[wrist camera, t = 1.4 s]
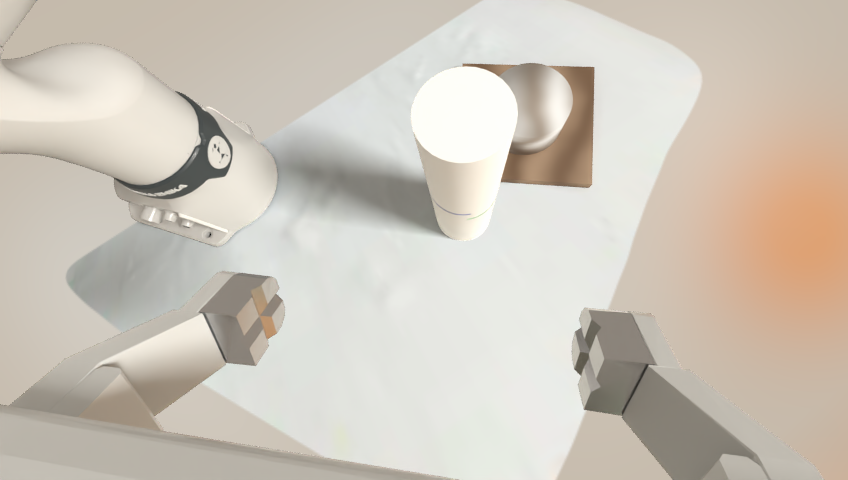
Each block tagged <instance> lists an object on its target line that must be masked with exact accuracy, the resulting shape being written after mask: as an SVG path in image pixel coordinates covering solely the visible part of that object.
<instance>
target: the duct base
mask: <svg viewBox="0 0 848 480" xmlns="http://www.w3.org/2000/svg"><path fill="white" fill-rule="evenodd" d="M465 66H467V67H477V68H481V69H485V70H487V71H490V72H492V73H494V74H496V75H497V76H498V77H500V78H501V79H502V80H504V82H505V83H506V84H507V85H508V86H509V87H510V89H511V91H512V92H513V94H514V96H515V99H516V103H517V109H518V117H517V124H516V128H515V131H514V135H513V138H512V142H511V145H510V149H509V153H508V156H507V160H506V163H505V167H504V171H503V174H502V178H501V181H500V182H509V183H525V184H540V185H555V186H570V187H586V188H589V187H590V186H591V185H592V156H593V108H594V67H569V66H546V65H542V64H536V63H526V64H520V65H493V64H463V66H462V67H465Z"/></svg>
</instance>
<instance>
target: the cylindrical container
mask: <svg viewBox="0 0 848 480" xmlns="http://www.w3.org/2000/svg"><path fill="white" fill-rule="evenodd" d="M517 117H518V109H517V103H516V99H515V96H514V94H513V92H512V91H511V89H510V87H509V86H508V85H507V84H506V83H505V82H504V80H502V79H501V78H500V77H498V76H497V75H496V74H494V73H492V72H490V71H487V70H485V69H481V68H477V67H467V66H465V67H456V68H452V69H448V70H445V71H443V72H441V73H438V74H437V75H435V76H434V77H432V78H431V79H429V80H428V81H427V82H426V83H425V84H424V85H423V86H422V87H421V89H420V90H419V92H418V93H417V95H416V97H415V99H414V102H413V105H412V110H411V124H412V128H413V132H414V136H415V140H416V143H417V147H418V151H419V154H420V158H421V162H422V165H423V169H424V173H425V177H426V181H427V185H428V188H429V192H430V196H431V199H432V203H433V207H434V211H435V214H436V218H437V222H438V225H439V227H440V229H441V230H442V231H443V233H444V234H446V235H447V236H448V237H450V238H452V239H455V240H458V241H468V240H472V239H474V238H477V237H478V236H480V235H481V234H482V233H483V232H484V231H485V230H486V228H487V226H488V224H489V221H490V217H491V214H492V210H493V206H494V203H495V199H496V196H497V192H498V189H499V185H500V181H501V178H502V174H503V171H504V167H505V163H506V160H507V156H508V153H509V149H510V145H511V142H512V138H513V135H514V131H515V128H516V124H517Z"/></svg>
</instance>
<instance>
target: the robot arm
mask: <svg viewBox="0 0 848 480" xmlns="http://www.w3.org/2000/svg"><path fill="white" fill-rule="evenodd" d="M36 1H37V0H0V153H1V154H3V153H4V154H5V153H6V154H7V153H9V154H10V153H12V154H13V153H14V154H17V153H18V154H19V153H20V154H33V155H42V156H47V157H52V158H56V159H60V160H63V161H67V162H70V163H73V164H76V165H80V166H83V167H86V168H89V169H92V170H95V171H98V172H100V173H103V174H106V175H109V176H111V177H113V178H114V187H115V191H116V194H117V196H118V197H119V198H120V199H122V200H125V201H127V202H129V210H130V214H131V217H132V218H133V219H134V220H136V221H139V222H141V223H144V224H147V225H150V226H153V227H156V228H159V229H162V230H166V231H169V232H172V233H175V234H178V235H181V236H184V237H187V238H191V239H194V240H197V241H200V242H203V243H206V244H209V245H212V246H216V247H219V246H222V245H224V244H225V243H226V242H227V241H228V240H229V239H230V238H231V237H232V236H233V234H234V233H235V232H236V231H238V230H239V229H241V228H243V227H245V226H247V225H249V224H250V223H252V222H253V221H255V220H256V219H257V218H258V217H259V216H260V215H261V214H262V213H263V212H264V211H265V210H266V209H267V207H268V206H269V204H270V203H271V201H272V199H273V196H274V194H275V191H276V187H277V179H278V175H277V167H276V164H275V161H274V159H273V157H272V155H271V154H270V152H269V151H268V150H267V149H266V148H265V147H264V146H263V145H262V144H260V143H259V142H258V141H257V140H256V139H255V136H254V134H253V131H252V130H251V128H250V127H249V126H248V125H247V124H245V123H244V122H232V121H231V120H229V119H228V118H226V117H225V116H224V115H222V114H221V113H219V112H218V111H216V110H215V109H213V108H211V107H208V106H207V107H205V108H203V107H202V106H201V105H200V104H199V103H197V102H196V101H194V100H193V99H190V98H189V97H187V96H186V95H184V94H182V93H180V92H176V91H174V90H173V89H171V88H170V87H169V86H167V85H166V84H165V83H164V82H162V81H161V80H160V79H159V78H157V77H156V76H155V75H154V74H152V73H151V72H150V71H148V70H147V69H146V68H145V67H143V66H142V65H141V64H139V63H138V62H137V61H136V60H134V59H133V58H132V57H130V56H129V55H127V54H125V53H123V52H121V51H119V50H117V49H114V48H112V47H109V46H105V45H101V44H93V43H71V44H63V45H57V46H54V47H50V48H48V49H45V50H42V51H39V52H37V53H34V54H31V55H28V56H25V57H21V58H15V59H1V54H2V52H3V48H2V47H3V46H4V45H5V43H6V42H7V41H8V39H9V38H10V36H11V35H12V34H13V33H14V31H15V30H16V28H17V27H18V25H19V24H20V23H21V22H22V20H23V19H24V18H25V16H26V15H27V13H28V12H29V11H30V9H31V8H32V7H33V5H34V4H35V3H36ZM210 234H211V237H209V235H210ZM278 290H279V286H278V283H277V280H276V279H275V278H273V277H270V276H262V275H254V274H246V273H234V272H227V271H222V272H219V273H216V274H215V275H214V276H213V277H212V278H211V279H210V280H209V281H208V282H207V283H206V284H205V285H204V286H203V287H202V288H201V289H200V290H199V291H198V292H197V293H196V294H195V295H194V296H193V297H192V298H191V299H190V300H189V301H188V302H187V303H186V304H185V305H184V306H183V307H182V308H181V309H180V310H172V311H170V312H167V313H165V314H163V315H161V316H159V317H156V318H154V319H152V320H150V321H148V322H145V323H143V324H141V325H139V326H136V327H134V328H132V329H130V330H128V331H125V332H123V333H121V334H119V335H117V336H114V337H112V338H110V339H108V340H105V341H103V342H101V343H99V344H97V345H94V346H92V347H90V348H88V349H85V350H83V351H81V352H79V353H77V354H74V355H72V356H70V357H68V358H66V359H64V360H63V361H62V362H61V363H59V364H58V365H57V366H56V367H55V368H53V370H51V371H50V372H49V373H47V374H46V375H45V376H44V377H43V378H42V379H40V380H39V381H38V382H37V383H35V384H34V385H33V386H32V387H31V388H30V389H28V390H27V391H26V392H25V393H23V394H22V395H21V396H20V397H19V398H18V399H16V400H15V401H14V402H13V403H12V404H10V405H9V406H7V405H1V404H0V480H459V479H453V478H447V477H441V476H434V475H428V474H422V473H416V472H410V471H404V470H398V469H392V468H386V467H380V466H373V465H367V464H361V463H355V462H349V461H343V460H337V459H330V458H324V457H318V456H312V455H306V454H299V453H293V452H287V451H281V450H274V449H269V448H263V447H257V446H251V445H245V444H238V443H232V442H226V441H220V440H213V439H208V438H201V437H195V436H189V435H183V434H177V433H171V432H165V431H163V428H162V426H161V425H160V424H159V422H158V421H157V420H156V418H155V417H154V416H156V415H157V414H158V413H160V412H161V411H162V410H164V409H165V408H167V407H168V406H169V405H171V404H172V403H174V402H175V401H176V400H178V399H179V398H180V397H182V396H183V395H185V394H186V393H187V392H189V391H190V390H191V389H193V388H194V387H196V386H197V385H198V384H200V383H201V382H203V381H204V380H205V379H207V378H208V377H209V376H211V375H212V374H214V373H215V372H216V371H218V370H219V369H220V368H222V367H223V366H225V365H226V363H233V364H243V365H252V366H256V365H257V363H258V362H259V360H260V359H261V357H262V356H263V354H264V353H265V351H266V350H267V348H268V347H269V344H268V339H269V338H270V337H272V336H273V335H275V334H277V333H278V331H279V329H280V328H281V326H282V323H283V320H284V316H285V306H284V303H283V300H282V299H281V298H280V297H279V296H278V295H277V294H276V293H277V291H278ZM579 321H580V324H581V328H580V329H578V330H577V331H575V334H574V337H573V341H572V361H573V365H574V369H575V370H576V371H577V372H578V373H579V374H580V375H581V377H580V380H579V383H578V387H579V392H580V396H581V400H582V404H583V408H584V410H589V411H596V412H602V413H608V414H614V415H621V416H622V418H623V420H624V421H625V422H626V423H627V425H628V426H629V427H630V428H631V429H632V431H633V432H634V433H635V434H636V435H637V437H638V438H639V439H640V440H641V442H642V443H643V444H644V445H645V447H646V448H647V449H648V450H649V451H650V453H651V454H652V455H653V456H654V457H655V458H656V460H657V461H658V462H659V464H660V465H661V466H662V467H663V468H664V469H665V471H666V472H667V473H668V474H669V476H670V477H671V478H672V479H673V480H824V479H823V477H822V476H821V474H820V473H819V471H818V470H817V468H816V467H815V466H814V465H813V464H812V463H811V462H810V461H808V460H807V459H805V458H804V457H803V456H802V455H800V454H799V453H798V452H796V451H795V450H794V449H792V448H791V447H790V446H788V445H787V444H786V443H785V442H783V441H782V440H781V439H779V438H778V437H777V436H776V435H774V434H773V433H772V432H770V431H769V430H768V429H766V428H765V427H763V426H762V425H761V424H760V423H759V422H757V421H756V420H755V419H753V418H752V417H751V416H749V415H748V414H747V413H745V412H744V411H743V410H742V409H740V408H739V407H738V406H736V405H735V404H734V403H732V402H731V401H730V400H729V399H727V398H726V397H725V396H723V395H722V394H721V393H719V392H718V391H717V390H715V389H714V388H713V387H711V386H710V385H709V384H708V383H706V382H705V381H704V380H702V379H701V378H700V377H698V376H697V375H696V374H695V373H693V372H692V371H691V370H688V369H682V367H681V365H680V363H679V361H678V360H677V358H676V356H675V354H674V352H673V350H672V349H671V347H670V345H669V343H668V341H667V339H666V337H665V335H664V334H663V332H662V330H661V328H660V326H659V324H658V322H657V320H656V319H655V317H654V316H653V315H652V314H651V313H641V312H630V311H628V312H625V311H615V310H604V309H593V308H584V309H583V310H582V312H581V315H580V318H579Z"/></svg>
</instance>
